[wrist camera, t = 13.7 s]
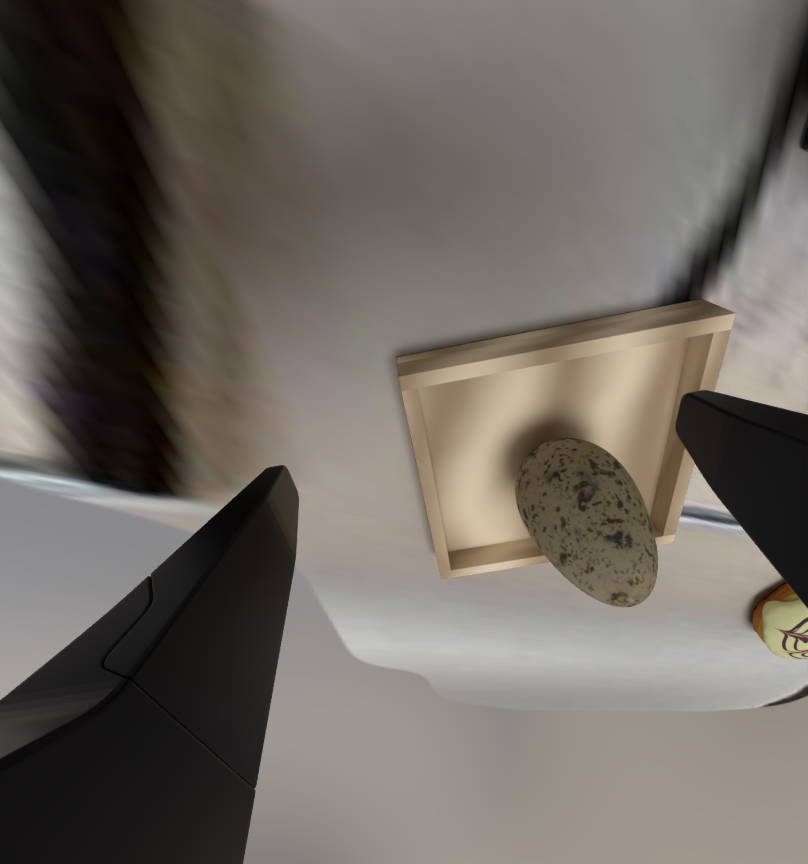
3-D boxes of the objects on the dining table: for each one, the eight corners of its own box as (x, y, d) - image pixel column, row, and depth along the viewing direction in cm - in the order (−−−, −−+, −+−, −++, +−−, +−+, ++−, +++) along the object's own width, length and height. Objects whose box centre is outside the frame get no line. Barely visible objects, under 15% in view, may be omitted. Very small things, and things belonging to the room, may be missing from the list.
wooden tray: (701, 299, 21) (735, 313, 19) (653, 516, 30) (672, 542, 28) (396, 357, 22) (398, 376, 20) (436, 552, 31) (441, 579, 29)
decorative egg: (548, 505, 27) (622, 654, 19) (481, 468, 25) (532, 617, 17) (618, 444, 25) (739, 585, 17) (550, 397, 23) (649, 532, 14)
